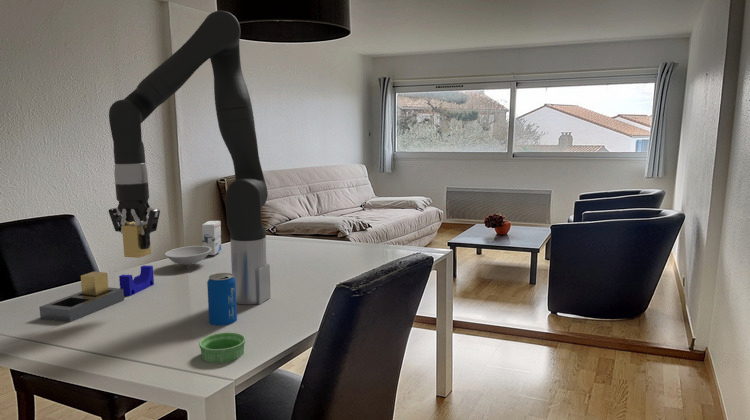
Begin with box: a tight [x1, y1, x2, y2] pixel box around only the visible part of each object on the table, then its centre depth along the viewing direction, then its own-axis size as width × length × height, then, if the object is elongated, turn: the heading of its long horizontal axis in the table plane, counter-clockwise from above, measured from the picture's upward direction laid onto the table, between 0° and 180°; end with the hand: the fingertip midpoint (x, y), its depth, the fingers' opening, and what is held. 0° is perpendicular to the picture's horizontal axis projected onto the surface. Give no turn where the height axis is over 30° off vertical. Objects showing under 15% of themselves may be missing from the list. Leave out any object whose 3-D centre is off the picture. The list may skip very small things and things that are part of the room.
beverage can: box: [206, 272, 238, 327], centre depth 127 cm, size 6×6×12 cm
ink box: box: [201, 220, 222, 256], centre depth 201 cm, size 9×5×12 cm, turn 179°
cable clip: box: [118, 265, 155, 297], centre depth 154 cm, size 12×4×6 cm, turn 172°
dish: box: [164, 245, 212, 267], centre depth 183 cm, size 18×14×5 cm
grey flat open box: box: [39, 286, 125, 323], centre depth 137 cm, size 9×18×4 cm, turn 164°
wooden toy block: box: [121, 222, 152, 258], centre depth 134 cm, size 4×4×8 cm
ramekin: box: [198, 331, 246, 364], centre depth 107 cm, size 9×9×4 cm
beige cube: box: [80, 271, 109, 297], centre depth 140 cm, size 4×4×8 cm
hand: (137, 248), depth 135 cm, fingers closed on wooden toy block, 4 cm apart
